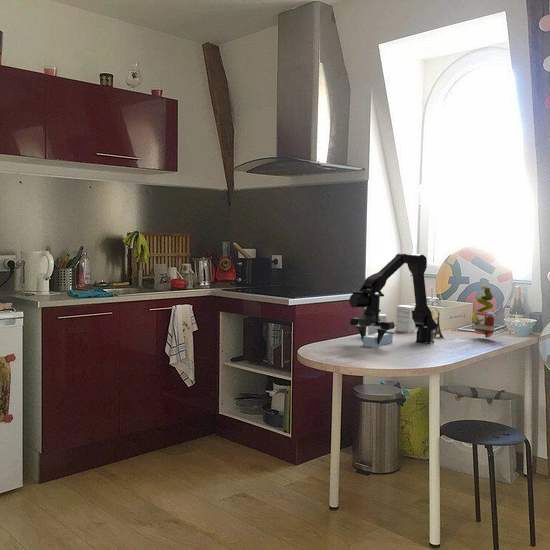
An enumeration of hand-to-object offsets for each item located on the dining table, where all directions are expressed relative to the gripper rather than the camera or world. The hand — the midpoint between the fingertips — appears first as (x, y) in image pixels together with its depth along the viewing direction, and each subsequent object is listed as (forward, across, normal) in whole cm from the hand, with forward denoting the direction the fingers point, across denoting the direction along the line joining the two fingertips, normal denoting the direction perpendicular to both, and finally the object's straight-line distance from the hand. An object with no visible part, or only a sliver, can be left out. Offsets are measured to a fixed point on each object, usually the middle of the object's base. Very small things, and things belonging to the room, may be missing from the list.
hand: (370, 343), depth 271 cm
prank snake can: (+1, +29, +57) cm, 64 cm away
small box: (+1, -9, +23) cm, 25 cm away
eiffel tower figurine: (+2, +12, +43) cm, 45 cm away
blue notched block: (+1, 0, +9) cm, 9 cm away
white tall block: (+1, -7, +50) cm, 51 cm away
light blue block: (+1, 0, 0) cm, 1 cm away
